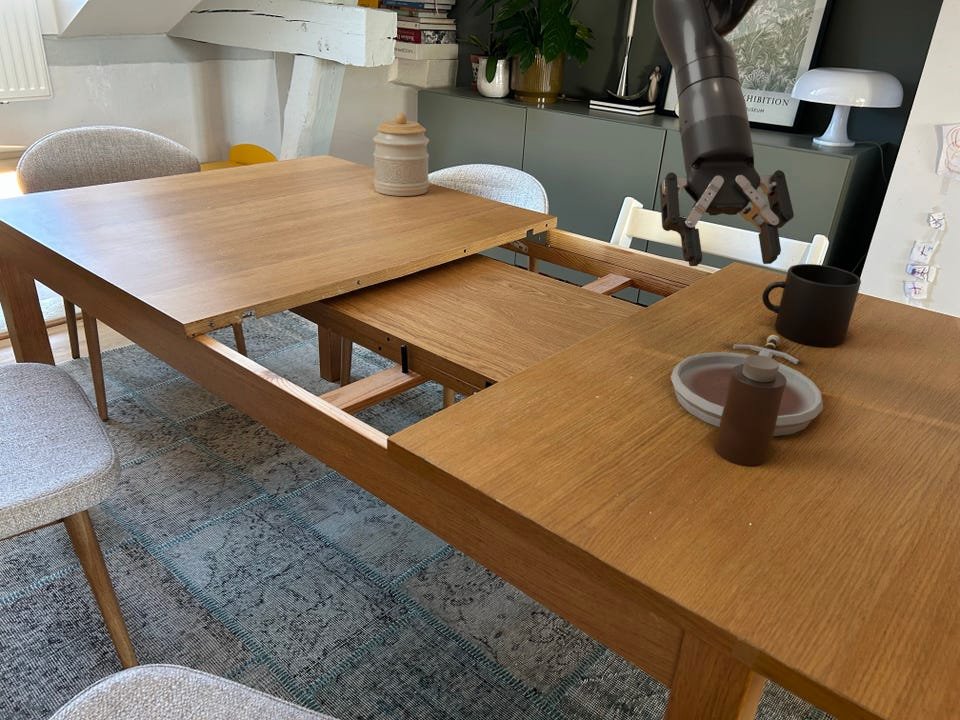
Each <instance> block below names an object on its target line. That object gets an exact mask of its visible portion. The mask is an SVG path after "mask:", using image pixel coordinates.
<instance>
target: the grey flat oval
mask: <svg viewBox="0 0 960 720" xmlns="http://www.w3.org/2000/svg"><path fill="white" fill-rule="evenodd" d="M780 344H781V338H780V337H779V336H778V335H776V334H770V335H769V336H768V337H767V338H766V344H765V347H763V346H756V345H753V344H738V343H734V344H733V347H732V348H733V350H734V349H735V350H752V351H756V352H759V353H758V354H757V355H762V356H766V357H770V358H772V359H773V356H777V357H781V358H784V359H786V360H788V361H789V362H791V363H794V364H795V365H798V364H799V361H800V359H797V358H796V357H794V356H792V355H790V354H789V353H787V352H783V351H779V350H775V349H776V347H778V346H779V345H780ZM750 355H751V354H745V353H740V352H726V351H725V352H724V351H715V352H704V353H703V352H701V353H698V354H694V355H691V356H688V357H686V358H684V359H683V360H681V361H680V362H679V363H677V365H676V366H675V367H674V368H673V370H672V372H671V376H670V380H671V382H672V385H673V388H674V393H675V397H676V399H677V402H678V403H679V404H680V405H681V406H682V407H683V408H684V409H685V410H686V411H687V412H688V413H690V414H691V415H693V416H694V417H696V418H698V419H700V420H701V421H703V422H705V423H707V424H710V425H712V426H714V427H717V428H719V426H720V421H721V417H722V412H723V408H724V403H725V398H726V394H727V389H728V385H729V380H730V375H731V371H732V369H733V367H735V366H737V365H740V364H744V361H745V358H746V357H747V356H750ZM778 363H779V369H778V371H779V372H780V373H782V374H783V375H784V376H785V377H786V380H787V382H786V386H785V390H784V394H783V398H782V402H781V406H780V410H779V414H778V417H777V421H776V425H775V429H774V433H773V437H780V436H788V435H793V434H795V433H798V432H800V431H802V430H805V429H806V428H807V427H808V426H809V425H810V423H811V422H812V421H813V420H814V419H816V418H817V417H818V416H819V414H820V413H821V412H822V411H823V409H824V399H823V395H822V392H821V390H820V389H819V387H818V386H817V385H816V384H815V383H814V381H813V380H811V379H810V378H809V377H807V376H806V375H804V374H803V373H802V372H800V371H798V370H797V369H794V368H792V367H789V366H788V365H785V364H783V363H781V362H778Z"/></svg>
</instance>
